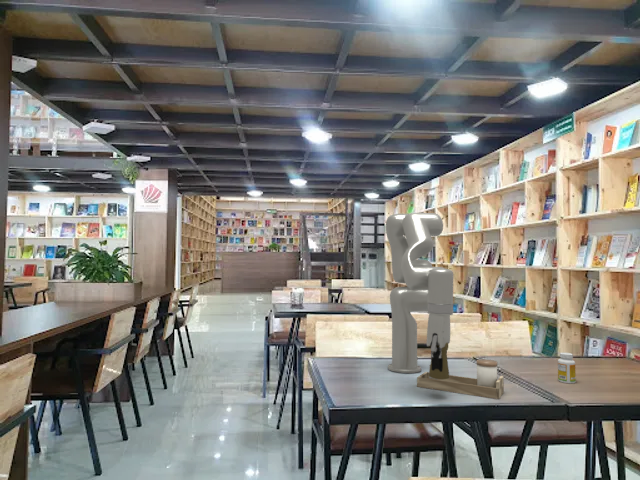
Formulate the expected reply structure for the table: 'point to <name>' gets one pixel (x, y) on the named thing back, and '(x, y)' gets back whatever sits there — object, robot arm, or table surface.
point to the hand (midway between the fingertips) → (439, 368)
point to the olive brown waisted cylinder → (445, 371)
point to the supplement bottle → (566, 368)
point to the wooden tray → (461, 385)
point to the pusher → (429, 369)
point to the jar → (486, 373)
